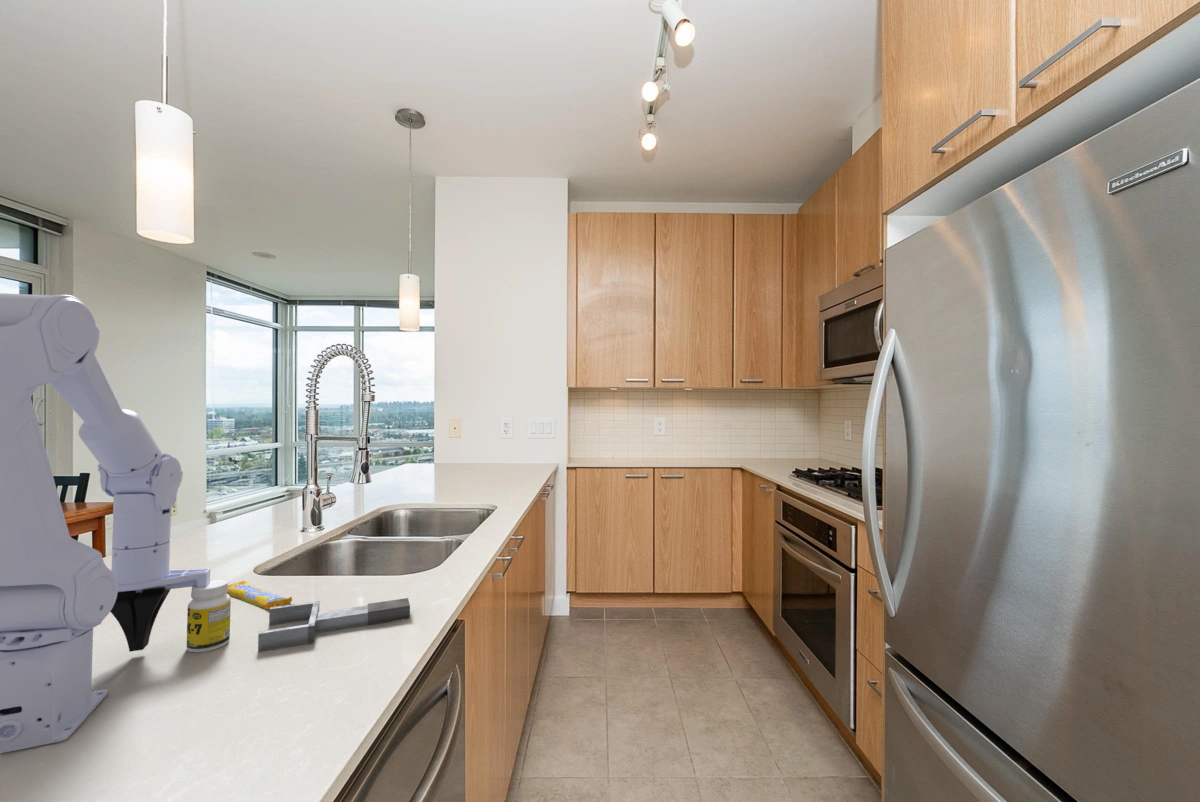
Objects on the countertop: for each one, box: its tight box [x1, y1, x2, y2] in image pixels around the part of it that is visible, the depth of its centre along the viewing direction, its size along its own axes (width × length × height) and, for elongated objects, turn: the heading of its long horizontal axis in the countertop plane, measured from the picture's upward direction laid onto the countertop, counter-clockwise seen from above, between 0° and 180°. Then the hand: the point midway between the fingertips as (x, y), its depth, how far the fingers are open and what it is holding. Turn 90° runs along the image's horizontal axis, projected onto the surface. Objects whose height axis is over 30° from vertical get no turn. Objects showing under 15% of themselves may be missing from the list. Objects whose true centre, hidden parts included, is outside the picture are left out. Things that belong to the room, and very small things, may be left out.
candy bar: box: [226, 580, 293, 611], centre depth 88 cm, size 17×4×2 cm, turn 59°
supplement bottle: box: [186, 579, 232, 654], centre depth 70 cm, size 5×5×8 cm
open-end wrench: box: [257, 597, 411, 653], centre depth 77 cm, size 10×20×2 cm, turn 115°
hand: (139, 647), depth 67 cm, fingers closed
